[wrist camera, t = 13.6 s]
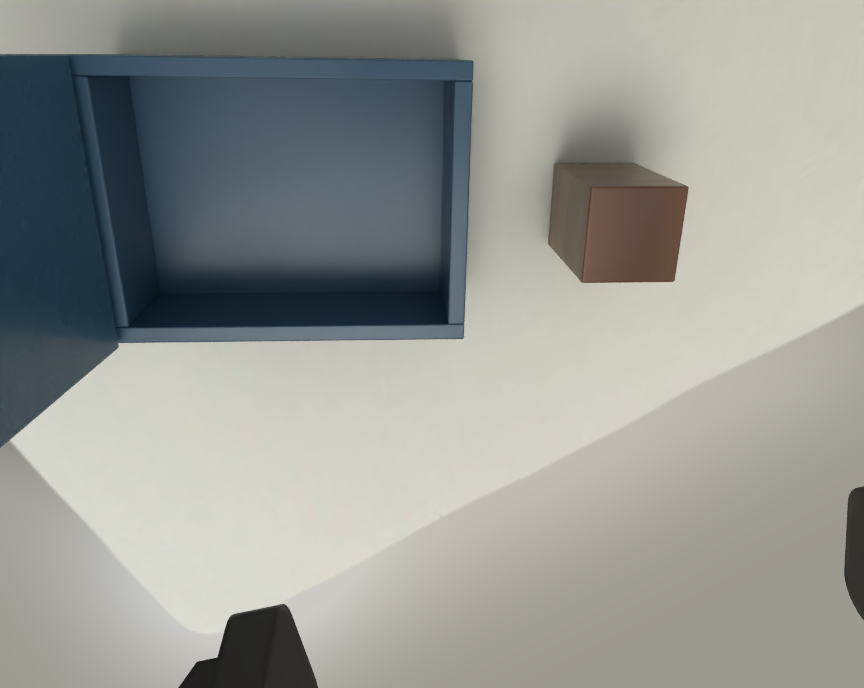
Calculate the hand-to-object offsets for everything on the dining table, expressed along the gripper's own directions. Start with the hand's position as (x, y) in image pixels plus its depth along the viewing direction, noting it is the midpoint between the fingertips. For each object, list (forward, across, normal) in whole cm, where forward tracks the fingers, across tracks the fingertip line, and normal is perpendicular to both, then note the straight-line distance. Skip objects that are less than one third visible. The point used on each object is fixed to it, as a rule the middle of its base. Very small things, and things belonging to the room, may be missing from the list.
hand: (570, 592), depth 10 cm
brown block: (+29, -8, +2) cm, 31 cm away
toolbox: (+29, +7, -2) cm, 30 cm away
